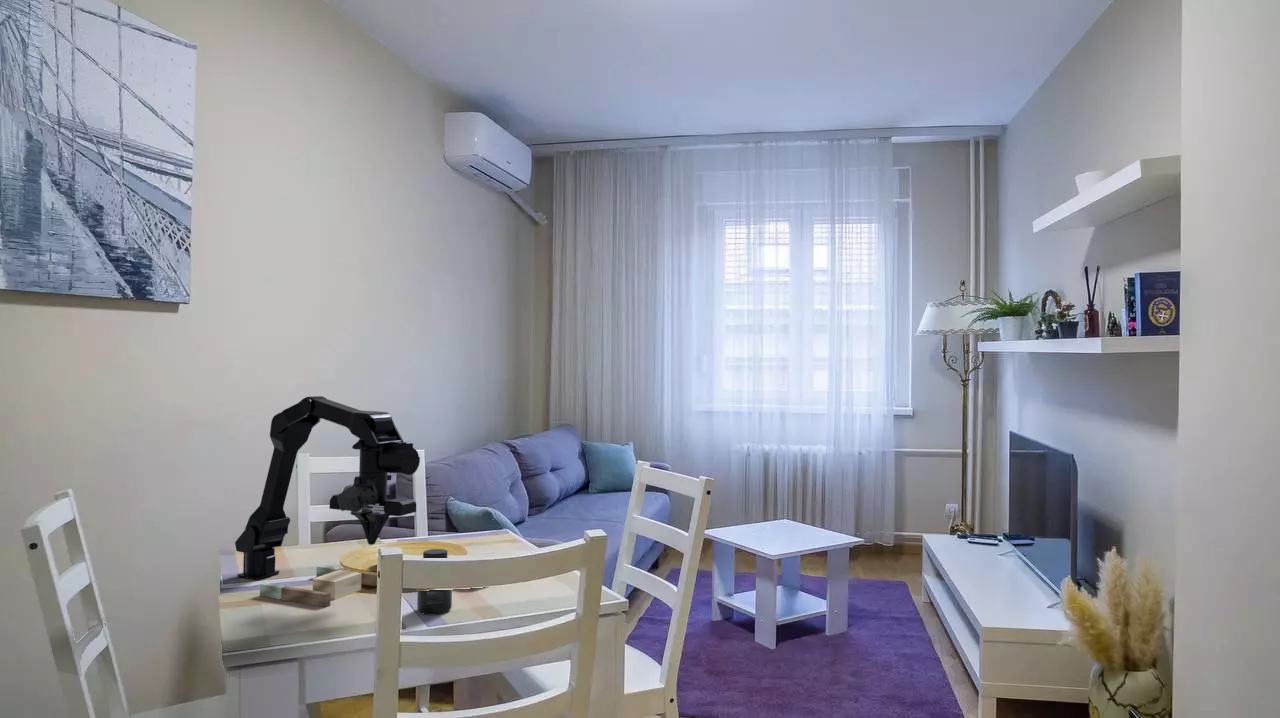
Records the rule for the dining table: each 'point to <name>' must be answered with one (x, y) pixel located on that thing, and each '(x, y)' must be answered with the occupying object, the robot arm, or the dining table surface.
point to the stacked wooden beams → (309, 595)
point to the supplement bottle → (434, 591)
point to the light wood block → (338, 583)
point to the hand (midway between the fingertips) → (371, 544)
